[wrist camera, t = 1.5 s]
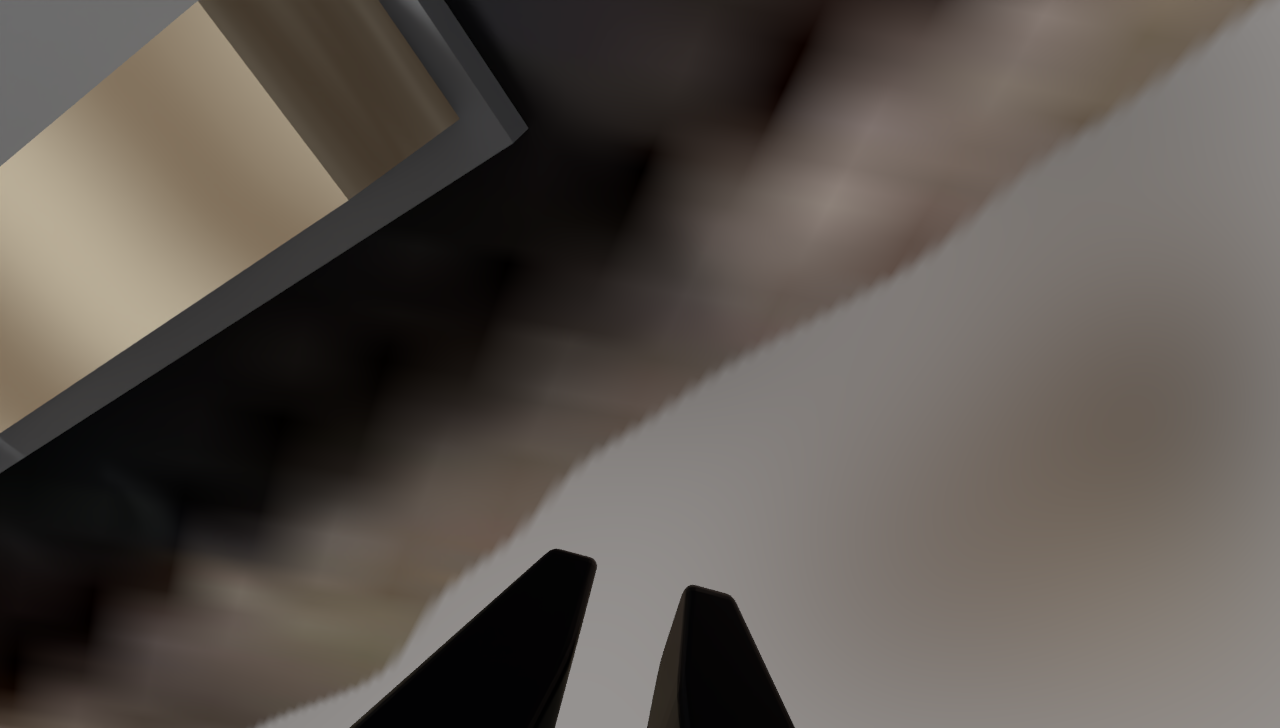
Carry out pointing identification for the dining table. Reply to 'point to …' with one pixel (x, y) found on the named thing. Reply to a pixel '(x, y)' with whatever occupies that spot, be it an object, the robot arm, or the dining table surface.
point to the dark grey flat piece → (107, 37)
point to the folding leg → (194, 174)
